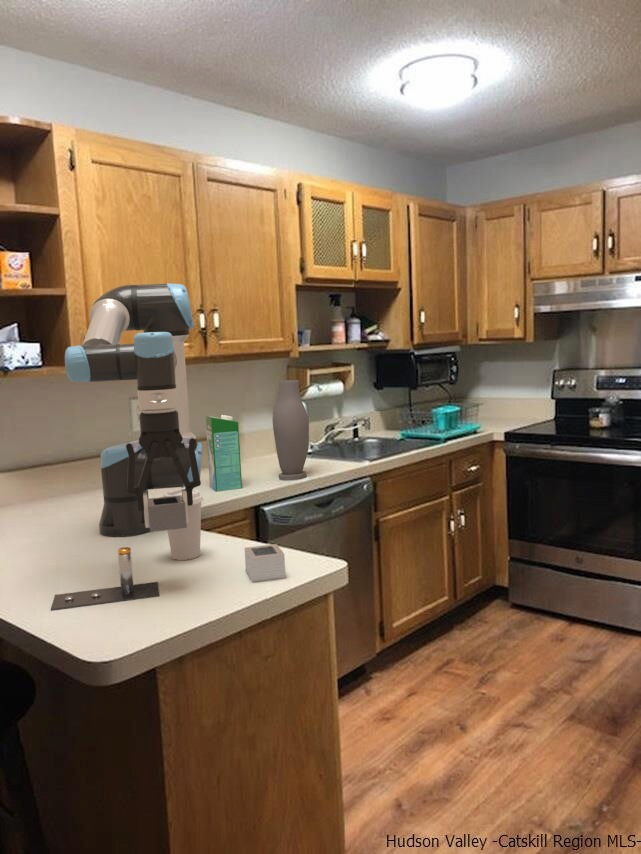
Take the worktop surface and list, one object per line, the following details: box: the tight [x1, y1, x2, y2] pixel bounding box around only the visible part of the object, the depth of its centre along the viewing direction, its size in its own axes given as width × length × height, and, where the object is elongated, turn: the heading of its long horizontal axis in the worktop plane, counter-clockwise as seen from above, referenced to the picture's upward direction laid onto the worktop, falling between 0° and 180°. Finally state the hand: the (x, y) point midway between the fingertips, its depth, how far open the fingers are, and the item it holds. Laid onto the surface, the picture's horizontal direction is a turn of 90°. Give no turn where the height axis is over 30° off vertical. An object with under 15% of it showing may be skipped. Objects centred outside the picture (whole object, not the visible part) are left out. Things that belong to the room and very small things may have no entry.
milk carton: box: [205, 414, 243, 492], centre depth 238 cm, size 9×9×25 cm
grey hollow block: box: [147, 495, 187, 533], centre depth 141 cm, size 8×7×5 cm
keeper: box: [50, 546, 160, 611], centre depth 138 cm, size 8×20×9 cm, turn 105°
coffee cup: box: [163, 488, 204, 561], centre depth 162 cm, size 10×10×15 cm
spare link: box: [244, 543, 286, 583], centre depth 147 cm, size 8×7×5 cm
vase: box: [272, 379, 310, 481], centre depth 250 cm, size 13×13×35 cm
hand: (166, 523), depth 141 cm, fingers closed on grey hollow block, 7 cm apart
